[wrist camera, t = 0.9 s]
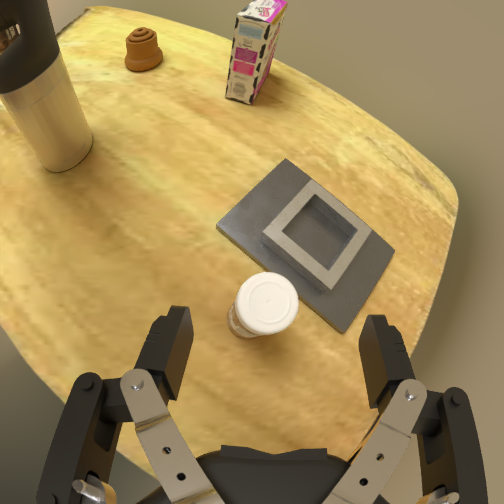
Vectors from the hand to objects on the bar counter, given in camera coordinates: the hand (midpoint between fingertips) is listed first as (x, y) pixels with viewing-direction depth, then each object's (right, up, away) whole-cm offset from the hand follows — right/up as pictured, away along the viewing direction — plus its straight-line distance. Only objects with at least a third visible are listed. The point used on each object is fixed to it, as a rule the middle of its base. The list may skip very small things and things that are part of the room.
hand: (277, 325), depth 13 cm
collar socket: (+7, +5, +25) cm, 26 cm away
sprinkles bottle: (-2, -5, +21) cm, 21 cm away
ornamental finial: (-22, +40, +33) cm, 56 cm away
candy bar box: (-2, +32, +33) cm, 46 cm away
